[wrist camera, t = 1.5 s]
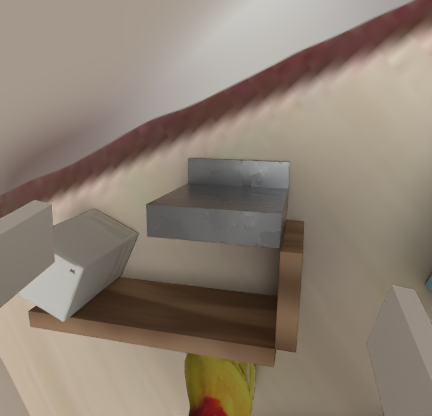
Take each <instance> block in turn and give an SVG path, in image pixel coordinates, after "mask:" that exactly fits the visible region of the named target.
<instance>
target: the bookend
mask: <svg viewBox="0 0 432 416" xmlns="http://www.w3.org/2000/svg"><path fill="white" fill-rule="evenodd" d="M289 172H290V162H285V161H257V160H229V159H201V158H189V159H188V184H186V185H184V186H182V187H180V188H178V189H176V190H174V191H172V192H170V193H168V194H166V195H164V196H162V197H160V198H158V199H156V200H154V201H152V202H150V203H148V204H146V209H147V236H149V237H160V238H171V239H182V240H193V241H204V242H215V243H226V244H237V245H248V246H259V247H270V248H280V244H281V239H282V234H283V229H284V225H285V220H286V215H287V206H288V189H289Z"/></svg>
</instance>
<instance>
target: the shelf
mask: <svg viewBox="0 0 432 416" xmlns="http://www.w3.org/2000/svg"><path fill="white" fill-rule="evenodd" d="M303 239H304V222H300V221H286V226H285V231H284V236H283V241H282V246H281V251H280V268H279V286H278V297H277V296H268V295H260V294H252V293H244V292H236V291H227V290H219V289H211V288H203V287H194V286H186V285H178V284H170V283H162V282H153V281H145V280H137V279H129V278H120V277H118V278H117V279H115V280H114V281H113V282H112V283H110V284H109V285H108V286H107V287H106V288H104V289H103V290H102V291H101V292H100V293H98V294H97V295H96V296H95V297H93V298H92V299H91V300H90V301H89V302H88V303H86V304H85V305H84V306H83V307H81V308H80V309H79V310H78V311H77V312H75V313H74V314H73V315H72V316H70V317H69V318H68V319H67V320H65V321H64V322H62V321H61V320H59V319H57V318H56V317H54V316H53V315H51V314H50V313H48V312H46V311H45V310H43V309H41V308H40V307H38V306H35V307H34V308H32V309H31V310H29V319H30V327H36V328H42V329H48V330H54V331H60V332H66V333H72V334H78V335H84V336H90V337H96V338H102V339H108V340H114V341H119V342H125V343H131V344H137V345H143V346H149V347H155V348H161V349H167V350H173V351H179V352H185V353H191V354H197V355H203V356H209V357H215V358H221V359H227V360H233V361H239V362H245V363H251V364H257V365H263V366H269V367H274V363H275V355H276V350H283V351H289V352H296V346H297V332H298V319H299V305H300V291H301V277H302V263H303Z"/></svg>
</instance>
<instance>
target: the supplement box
mask: <svg viewBox="0 0 432 416" xmlns="http://www.w3.org/2000/svg"><path fill="white" fill-rule="evenodd" d="M137 236H138V233H137V232H135V231H133V230H131V229H130V228H128V227H126V226H124V225H123V224H121V223H119V222H117V221H116V220H114V219H112V218H110V217H108V216H107V215H105V214H103V213H101V212H100V211H98V210H95V209H93V210H90V211H88V212H85V213H83V214H81V215H78V216H76V217H73V218H71V219H69V220H66V221H64V222H61V223H59V224H57V225H54V226H53V237H54V257H55V262H54V263H53V264H52V265H51V266H49V267H48V268H47V269H46V270H45V271H44V272H42V273H41V274H40V275H39V276H38V277H36V278H35V279H34V280H33V281H32V282H30V283H29V284H28V285H27V286H26V287H24V288H23V289H22V290H21V291H20V292H19V293H17V294H18V295H20V296H21V297H23V298H25V299H26V300H28V301H30V302H31V303H33V304H35V305H36V306H38V307H40V308H41V309H43V310H45V311H46V312H48V313H50V314H51V315H53V316H54V317H56V318H57V319H59V320H61V321H62V322H64V321H65V320H67V319H68V318H69V317H70V316H72V315H73V314H74V313H75V312H77V311H78V310H79V309H80V308H81V307H83V306H84V305H85V304H86V303H88V302H89V301H90V300H91V299H92V298H93V297H95V296H96V295H97V294H98V293H100V292H101V291H102V290H103V289H104V288H106V287H107V286H108V285H109V284H110V283H112V282H113V281H114V280H115V279H117V278H118V277H119V276H120V275H121V274H122V272H123V270H124V267H125V265H126V263H127V260H128V258H129V255H130V253H131V251H132V248H133V246H134V243H135V241H136V239H137Z"/></svg>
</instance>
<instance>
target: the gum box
mask: <svg viewBox="0 0 432 416" xmlns="http://www.w3.org/2000/svg"><path fill="white" fill-rule="evenodd" d="M425 286H426V287H427V289H428V290H429V291H430V292H431V294H432V274H431V276H430V278H429V279H428V281H427V282H426V284H425Z"/></svg>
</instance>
